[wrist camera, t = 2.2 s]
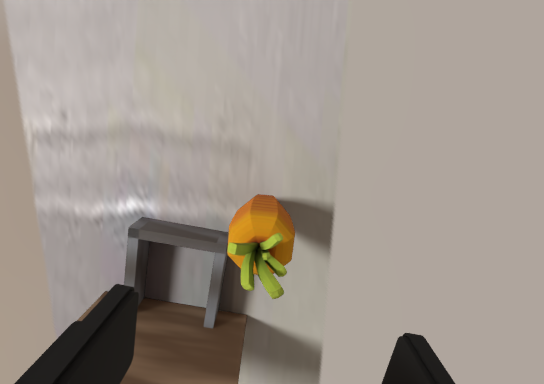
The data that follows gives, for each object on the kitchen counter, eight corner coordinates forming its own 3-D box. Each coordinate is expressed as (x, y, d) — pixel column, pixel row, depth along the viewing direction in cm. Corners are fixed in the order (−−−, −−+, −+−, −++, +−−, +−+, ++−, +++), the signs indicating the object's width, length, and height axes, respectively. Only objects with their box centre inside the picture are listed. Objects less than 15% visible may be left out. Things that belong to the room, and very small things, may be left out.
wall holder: (244, 326, 34) (207, 602, 15) (104, 302, 33) (-130, 560, 14) (262, 238, 31) (243, 433, 12) (110, 211, 31) (-169, 370, 11)
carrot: (234, 186, 30) (197, 251, 16) (281, 173, 30) (289, 225, 15) (248, 230, 31) (228, 329, 17) (294, 218, 31) (313, 307, 16)
